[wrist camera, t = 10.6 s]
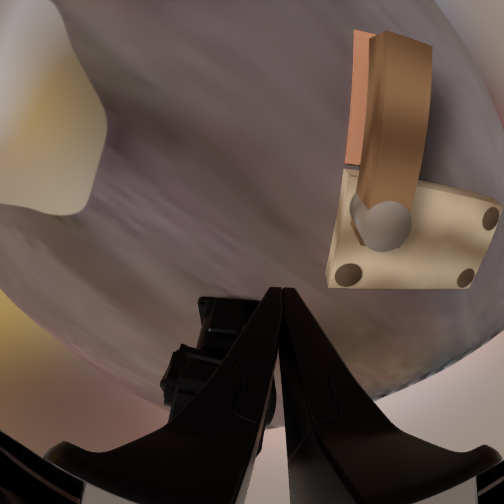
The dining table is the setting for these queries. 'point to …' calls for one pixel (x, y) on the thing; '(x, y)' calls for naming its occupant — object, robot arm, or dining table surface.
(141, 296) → the dining table surface
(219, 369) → the robot arm
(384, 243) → the walnut leg
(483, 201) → the birch seat
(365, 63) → the marker strip
